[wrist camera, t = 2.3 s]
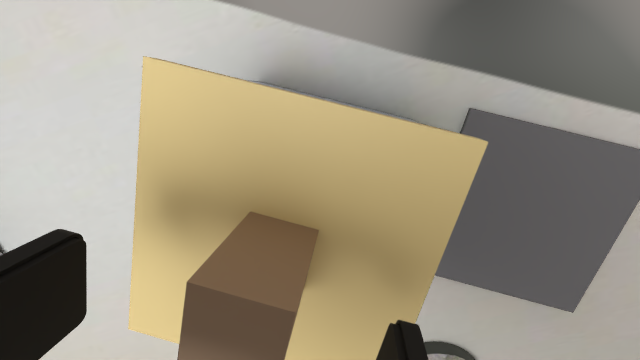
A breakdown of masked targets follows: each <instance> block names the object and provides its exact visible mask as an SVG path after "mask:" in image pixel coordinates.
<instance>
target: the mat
mask: <svg viewBox="0 0 640 360" xmlns="http://www.w3.org/2000/svg"><path fill="white" fill-rule="evenodd" d="M460 134H464V135H468V136H472V137H476V138H479V139H482V140H485V141H487V142H488V144H487V147H486V149H485V152H484V154H483V157H482V159H481V162H480V164H479V167H478V169H477V172H476V174H475V177H474V179H473V182H472V184H471V186H470V189H469V191H468V194H467V196H466V199H465V201H464V204H463V206H462V209H461V211H460V214H459V216H458V219H457V221H456V224H455V226H454V228H453V231H452V233H451V236H450V238H449V241H448V243H447V246H446V248H445V251H444V253H443V256H442V258H441V261H440V263H439V266H438V268H437V270H436V273H435V275H436V276H440V277H443V278H447V279H451V280H454V281H458V282H462V283H465V284H469V285H473V286H476V287H480V288H484V289H488V290H491V291H495V292H499V293H502V294H506V295H510V296H513V297H517V298H521V299H524V300H528V301H532V302H536V303H539V304H543V305H547V306H550V307H554V308H558V309H561V310H565V311H569V312H572V313H573V312H574V310H575V308H576V307H577V305H578V303H579V302H580V300H581V298H582V297H583V295H584V293H585V291H586V290H587V288H588V286H589V285H590V283H591V281H592V280H593V278H594V276H595V275H596V273H597V271H598V269H599V268H600V266H601V264H602V263H603V261H604V259H605V258H606V256H607V254H608V253H609V251H610V249H611V247H612V246H613V244H614V242H615V241H616V239H617V237H618V236H619V234H620V232H621V230H622V229H623V227H624V225H625V224H626V222H627V220H628V219H629V217H630V215H631V214H632V212H633V210H634V208H635V207H636V205H637V203H638V202H639V200H640V149H636V148H632V147H628V146H624V145H620V144H615V143H611V142H607V141H603V140H599V139H595V138H591V137H587V136H583V135H578V134H574V133H570V132H566V131H562V130H558V129H554V128H550V127H546V126H542V125H537V124H533V123H529V122H525V121H521V120H517V119H513V118H509V117H505V116H500V115H496V114H492V113H488V112H484V111H480V110H476V109H472V108H469V111H468V114H467V116H466V119H465V122H464V125H463V127H462V130H461V133H460Z"/></svg>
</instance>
